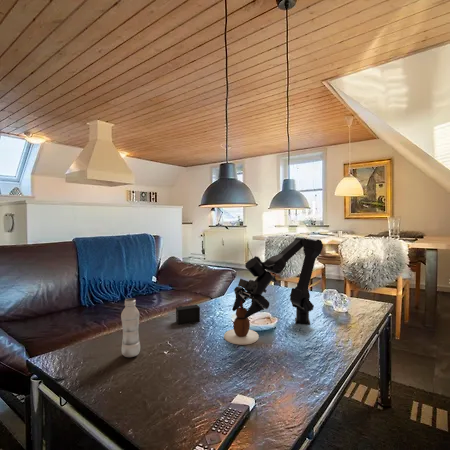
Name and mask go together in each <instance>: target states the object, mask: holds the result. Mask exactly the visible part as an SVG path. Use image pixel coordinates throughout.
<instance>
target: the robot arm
mask: <svg viewBox="0 0 450 450" xmlns="http://www.w3.org/2000/svg"><path fill="white" fill-rule="evenodd" d="M323 247H324V243H323V242H322V240H321V239H319V238H305V237H300V236H297V237H295V238H294V240H292V241H291V242H290V243H289V244H288V245H287V246H286V247H285V248H284V249H283V250H282V251H280V252H279V253H277V254H276V255H275V254H274V255H272V256H271V257H269V258H267V259H266V260H265V261H262V260H261V258H260V257H259V256H256V255H255V256H254V257H253V258H250V259H249V260H247V261H246V263H245V265H244V266H245V269H246V270H248V272H249V273H250V274H251V275H252V276H253V277H254V278H255V279H254V280H252V279H249V280H246V279H244V278H240V279H239V281H238V283H237V286H235V288H234V289H233V291H234V295H235V300H234V303H233V305H232V309H231V310H232V311H233V312H236V310H237V308H239V307H240V301H241V300H242V303H243V305H244V304H245V303H246V301H247V300H248V299H250V300H251V304H250V306H249V307H248V309H247V312H246V314H245V316H244V317H245V318H248V319H249V317H251V316H253V315H255V314H257V313H259V312H262V311H264V310H268V309H269V307H270V301H269V300H268V299H267V298H266V297H265V296H263V293H265V294H266V293H267V291H268V290H267V288H268V286H269V285H270V284H271V282H274V283H276V282H277V277H276V275H273V274H280V273H282V271H283V270H284V269H285V267H286V265H287V262H288V261H289V260H290V259H291V258H293V257H294V256H295V255H296V254H297V253H298V252H299V251H300V250H301V249H303V253H304V257H303V258H304V259H303V262H302V266H301V271H300V274H299V279H298V282H297V284H296V286H295V287H292V288H291V291H290V294H289V297H290V298H289V301H290V303H291V305H292V307H293V308H296V311H295V312H296V314H295V318H294V321H295V324H300V325H301V324H302V325H310V324H311V321H310V312H312V311H313V310H314V307H315V306H314V304H313V303H312V302H311V301H310V298H311V294H310V291H309V286H310V283H311V278H312V275H313V270H314V267H315V263H316V259H317V258H318V257H319V256H320V255H321V253H322V251H323ZM272 273H273V274H272Z"/></svg>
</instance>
